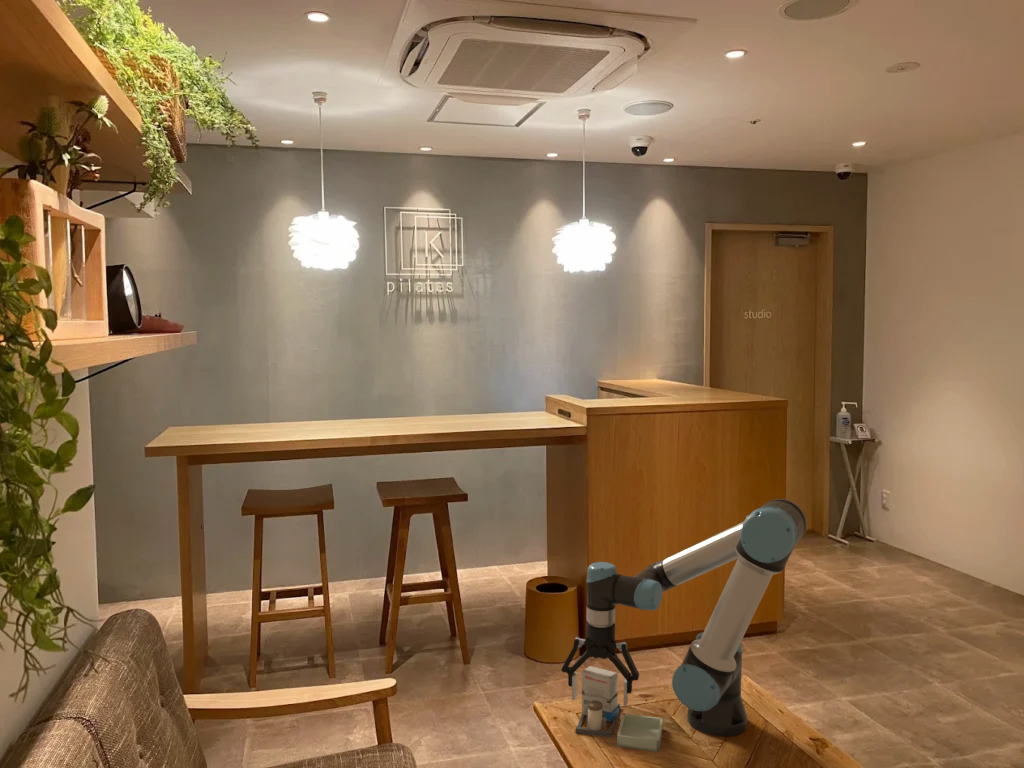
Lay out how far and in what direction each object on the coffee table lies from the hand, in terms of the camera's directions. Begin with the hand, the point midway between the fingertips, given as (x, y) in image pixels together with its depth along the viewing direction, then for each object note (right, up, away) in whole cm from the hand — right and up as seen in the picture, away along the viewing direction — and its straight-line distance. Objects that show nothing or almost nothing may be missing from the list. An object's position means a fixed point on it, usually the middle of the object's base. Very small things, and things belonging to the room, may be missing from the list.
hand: (599, 701), depth 217 cm
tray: (+9, -5, -10) cm, 15 cm away
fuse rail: (0, -4, -1) cm, 5 cm away
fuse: (-2, -5, -7) cm, 9 cm away
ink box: (0, -4, 0) cm, 4 cm away
